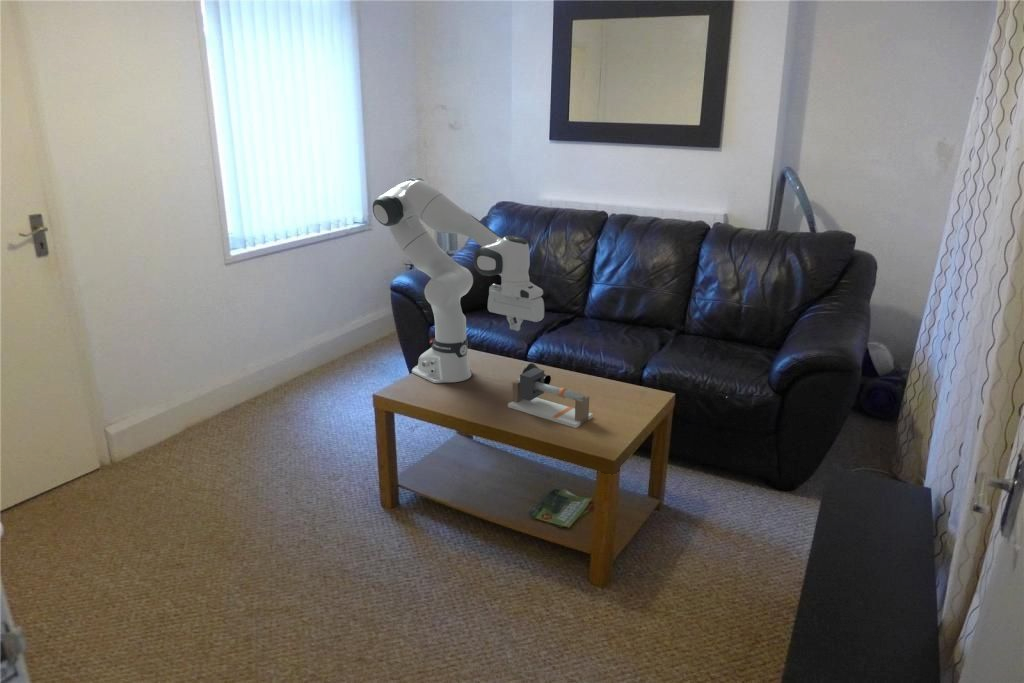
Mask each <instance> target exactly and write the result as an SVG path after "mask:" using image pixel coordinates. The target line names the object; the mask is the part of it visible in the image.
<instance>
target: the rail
mask: <svg viewBox="0 0 1024 683" xmlns="http://www.w3.org/2000/svg"><path fill="white" fill-rule="evenodd" d="M533 388H534V389H538V390H541V391H544V393H548V394H552V395H554V396H555V395H556V396H558V397H559V398H563V399H566V398H567V399H570V400H573V401H574V402H575V404H574V405H575V406H574V407H572V406H568V405H565V404H560V403H557V402H553V401H550V400H547V399H543V398H540V397H536V398H534V399H532V400H530V401H529V400H525V399H522V398H520V376H519V377H518V378H517V379H516V380H514V381H513V382H512V395H511V396H512V399H511V401H510V402H509V403H507V407H508V408H510V409H514V410H515V411H519V412H522V413H525V414H529V415H532V416H535V417H538V418H542V419H545V420H548V421H552V422H555V423H557V424H562V425H565V426H567V427H571V428H574V429H577V428H578V427H580V426H582V425H583V424H585V423H586V422H588V421H590V419H592V418H593V417H594V416H593V413H591V412H590V396H589V395H586V394H584V393H580V392H577V391H573V390H569V389H568V388H566V387H558V386H555V385H551V384H549V385H548V384H544V383H540V382H537V381H533Z"/></svg>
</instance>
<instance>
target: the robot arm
mask: <svg viewBox="0 0 1024 683" xmlns="http://www.w3.org/2000/svg"><path fill="white" fill-rule="evenodd" d="M372 202H373V203H372V213H373V216H374V217H375V219H376V220H377V221H378V223H379V224H381V225H383V226H385V227H389V230H390V232H391V235H392V237H393V239H394V241H395V242H396V243H397V245H398V246H399V247H400V249H401V251H402V252H403V253H404V254H405V256H406V257H407V259H409V261H410V262H411V264H412V265H413V266H414V268H415V269H416V270H418V271H420V272H423V273H424V274H426V275H427V276H428V277H429V278H430V280H429V281H428V282H427V283H426V285H425V287H424V297H425V299H426V301H427V302H428V303H429V304H430V306H431V310H432V313H433V317H434V333H435V334H434V335H435V337H433V338H431V339H430V340H429V344H432V345H431V347H430V348H429V349H427V350H425V351H424V352H423V353H421V354H420V356H419V357H418V361H417V362H418V363H417V365H415V366H414V367H413V368H412V369H411V373H412V374H414V375H417V376H418V377H420V378H423V379H425V380H427V381H429V382H430V383H432V384H443V383H457V382H463V381H466V380H469V378H471V376H472V372H471V368H470V364H469V357H468V348H469V347H468V346H469V345H468V343H469V342H468V337H467V318H466V315H465V314H464V313H463V310H462V306H461V298H462V297H463V296H465V295H467V294H468V293H469V291H470V290H471V288H472V286H473V284H474V276H473V274H472V272H471V270H469V269H468V268H467V267H464V266H462V265H460V264H459V263H458V262H457V261H455V260H454V259H453V258H452V257H451V256H450V255H448V254H447V253H446V252H445V251H444V250H443V249H442V247H440V245H439V244H438V243H437V242H436V240H435V239H434V238H433V236H432V235H431V233H430V232H429V231H428V230H427V229H426V227H425V226H424V225H423V224H422V222H423V223H424V224H425V225H426V226H427V227H429V228H430V229H432V230H433V231H435V232H437V233H440V234H458V235H463V236H465V237H467V238H469V239H471V240H472V241H474V242H475V243H476V244H478V245H479V246H480V247H479V248H478V249H476V250H475V251H474V254H473V259H472V260H473V265H474V268H475V269H476V271H477V273H479V274H480V275H482V276H487V277H491V276H497V275H499V276H500V277H501V283H500V284H496V283H493V284H491V285H490V286H489V289H488V299H487V310H488V312H490V313H494V314H499V315H501V316H502V315H503V316H506V320H507V322H508V324H509V329H510V330H514V331H516V332H518V331H520V330H521V325H522V323H523V321H524V320H525V321H530V322H533V323H538V322H540V321H542V320H543V319H544V317H545V302H544V299H543V298H542V296H543V295H544V290H543V288H541V287H539V286H538V285H536V284H534V283H533V282H531V281H530V276H529V269H530V265H531V262H530V261H531V259H530V257H531V256H530V255H531V254H530V247H529V242H528V241H527V240H526V239H525V238H524V237H522V236H519V235H506V236H501V235H499V234H498V233H496V232H495V231H494V230H492V229H491V228H489V227H488V226H487V225H486V224H484V223H483V222H482V221H480V220H479V219H478V218H476V217H475V216H473V215H472V214H470V213H469V212H467V211H465V210H464V209H463V208H461V207H460V206H458V204H456V203H455V202H453V201H452V200H451V199H450V198H449V197H447V196H446V195H445V194H444V193H443V192H441V191H440V190H439V189H437V188H436V187H435V186H433V185H432V184H430V183H429V182H427V181H425V180H424V179H423V178H421V177H413V178H412V177H411V178H409V179H407V180H406V181H404V182H401V183H398V184H397V185H394V186H393V187H392V188H391V189H389V190H388V191H386V192H384V193H383V194H381V195H379V196H378V197H376V199H375V200H374V201H372ZM420 220H421V221H422V222H421V221H420ZM514 318H515V320H514ZM515 321H516V323H515Z"/></svg>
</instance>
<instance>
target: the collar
mask: <svg viewBox="0 0 1024 683" xmlns="http://www.w3.org/2000/svg"><path fill="white" fill-rule="evenodd" d="M522 373H523V372H522ZM522 373H521V374H519V377H520V398H522V399H525V400H529V401H530V400H532V399H534V398H536V397H537V398H539V396H541V395H544V393H545V391H541V390H538V389H534V388H533V381H537V382H540V383H544V374H545V369H540V368H539V369H537V368H533V369H531V370H529V371H527V372H525V373H523V374H522Z"/></svg>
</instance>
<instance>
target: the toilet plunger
mask: <svg viewBox="0 0 1024 683" xmlns="http://www.w3.org/2000/svg"><path fill="white" fill-rule="evenodd" d="M533 368H537V369H540V368H539V367H538V366H537V365H536V364H535V363H532V362H531V363H529V364H528V363H527V365H526V366H525V367H524V368H523V370H522V373H521V374H523V373H525V372H527V371H529V370H531V369H533ZM551 381H552V376H551V375H548V374H546V373H544V384H548V385H551Z"/></svg>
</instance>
